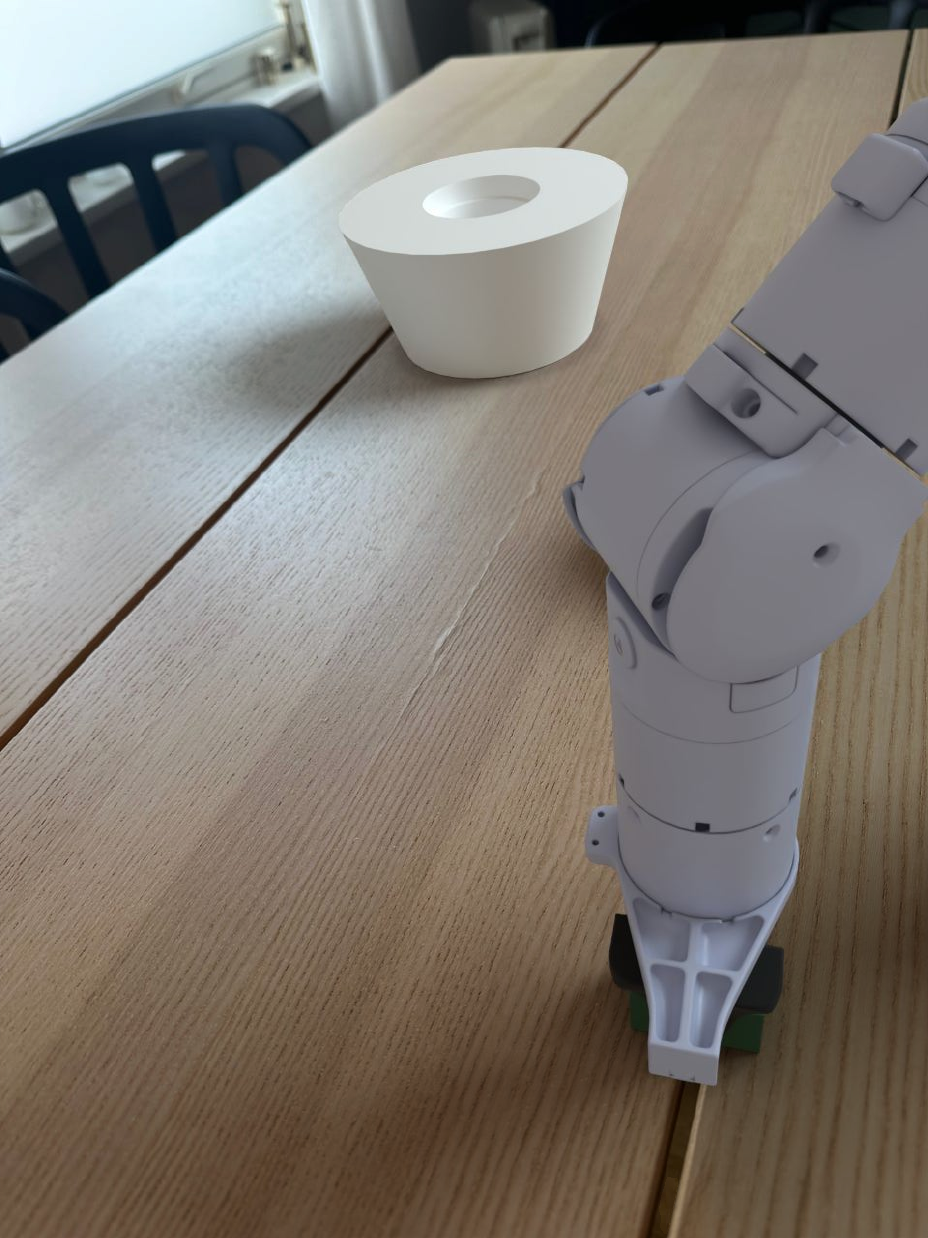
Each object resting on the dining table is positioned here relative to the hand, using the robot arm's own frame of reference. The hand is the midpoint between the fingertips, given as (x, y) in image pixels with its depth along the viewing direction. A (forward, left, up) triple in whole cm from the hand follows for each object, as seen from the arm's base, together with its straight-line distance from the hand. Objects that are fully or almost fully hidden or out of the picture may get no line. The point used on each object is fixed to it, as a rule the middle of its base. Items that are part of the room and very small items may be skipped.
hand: (698, 979), depth 39 cm
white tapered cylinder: (+23, -60, -2) cm, 64 cm away
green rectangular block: (0, 0, -2) cm, 2 cm away
